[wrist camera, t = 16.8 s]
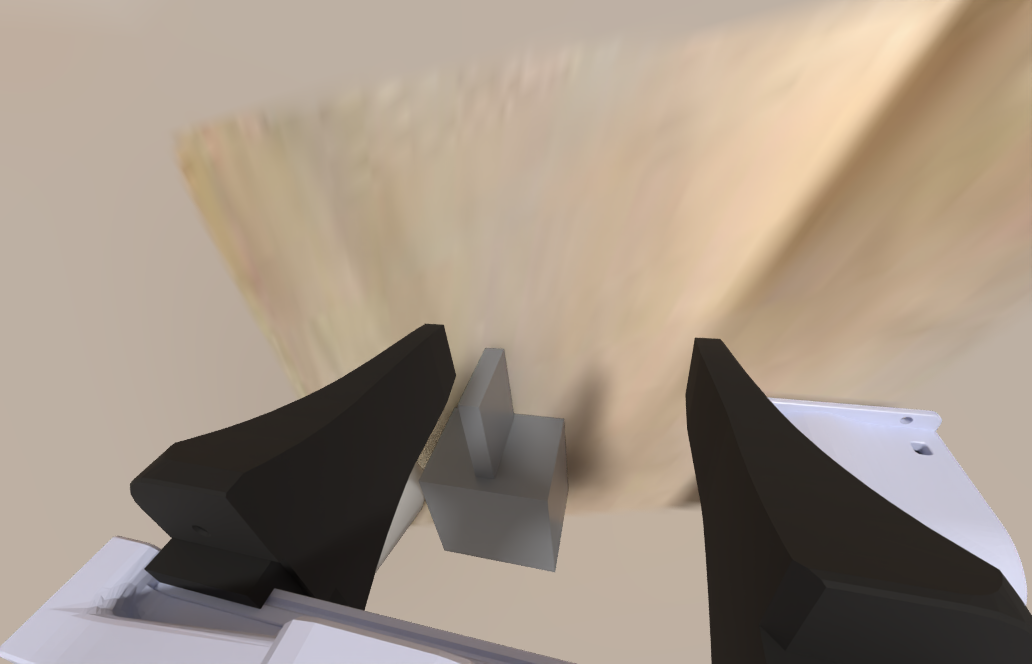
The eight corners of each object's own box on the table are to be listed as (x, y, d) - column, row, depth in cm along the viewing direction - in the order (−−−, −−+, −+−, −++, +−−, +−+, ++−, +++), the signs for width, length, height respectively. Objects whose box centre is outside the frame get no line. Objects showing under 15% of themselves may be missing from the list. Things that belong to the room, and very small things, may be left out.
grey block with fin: (568, 490, 33) (555, 572, 28) (472, 476, 35) (444, 550, 30) (560, 348, 25) (539, 427, 20) (437, 340, 27) (391, 410, 22)
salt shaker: (443, 491, 38) (369, 664, 28) (389, 487, 40) (300, 648, 29) (420, 446, 35) (326, 623, 24) (362, 444, 37) (253, 608, 26)
